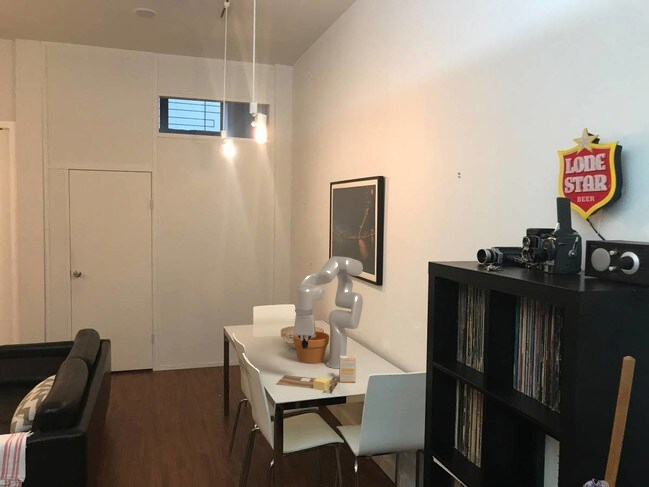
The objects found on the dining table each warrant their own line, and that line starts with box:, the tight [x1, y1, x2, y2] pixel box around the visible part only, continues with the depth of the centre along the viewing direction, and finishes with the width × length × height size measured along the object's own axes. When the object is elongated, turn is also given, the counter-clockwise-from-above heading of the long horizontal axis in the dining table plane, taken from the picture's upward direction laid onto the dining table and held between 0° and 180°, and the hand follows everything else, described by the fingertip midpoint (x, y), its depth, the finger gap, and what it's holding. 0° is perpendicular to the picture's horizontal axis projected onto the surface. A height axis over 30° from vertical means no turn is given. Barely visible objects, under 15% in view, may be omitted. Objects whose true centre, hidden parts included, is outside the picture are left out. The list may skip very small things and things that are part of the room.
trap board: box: [275, 374, 339, 394], centre depth 254 cm, size 15×28×4 cm, turn 77°
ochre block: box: [312, 376, 331, 392], centre depth 246 cm, size 6×6×4 cm
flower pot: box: [292, 330, 330, 365], centre depth 297 cm, size 21×21×15 cm
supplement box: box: [338, 354, 357, 384], centre depth 262 cm, size 8×5×13 cm, turn 92°
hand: (304, 347), depth 257 cm, fingers closed
